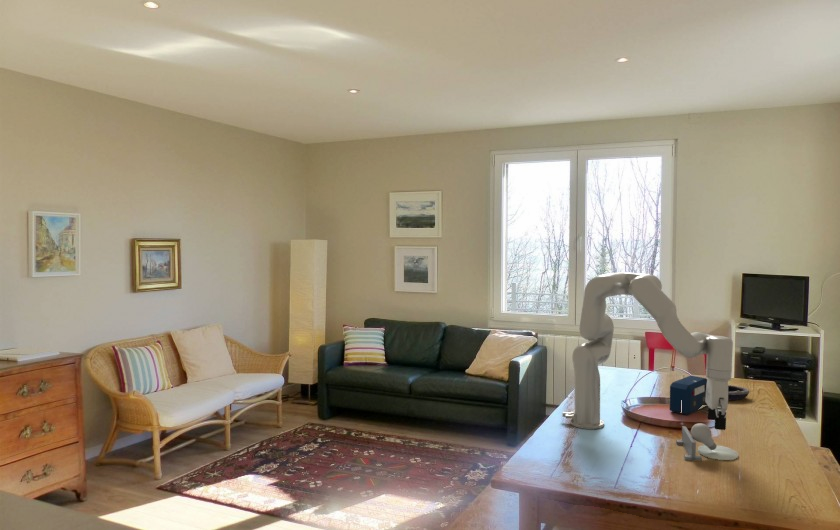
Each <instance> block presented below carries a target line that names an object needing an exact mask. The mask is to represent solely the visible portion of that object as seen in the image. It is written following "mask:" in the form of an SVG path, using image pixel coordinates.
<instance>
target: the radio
mask: <svg viewBox="0 0 840 530" xmlns="http://www.w3.org/2000/svg"><path fill="white" fill-rule="evenodd" d="M706 385H707V377H701V376H697V375H688V376H686V377H685V376H684V377H683V378H680V379H678V380H675V381H672V382H671V384H670V386H669V411H671V412H673V413H677V414H680V412H681V400H682V413H683V414H682V415H686V416H690V415H691V414H694V413H697V412H698V411H699V410H698V409H699V408H700V407H701V406H702V405H707V403H706V402H705V396H706ZM707 406H708V405H707ZM697 410H698V411H697ZM689 414H690V415H689Z"/></svg>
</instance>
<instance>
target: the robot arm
mask: <svg viewBox="0 0 840 530" xmlns="http://www.w3.org/2000/svg"><path fill="white" fill-rule="evenodd" d="M662 287H663V283H662V281H661V279H659V277H658V276H655V275H653V274H650V273H635V272H634V273H633V272H622V271H620V272H619V271H618V272H612V273H611V272H610V273H605V274H600V275H597V276H595V277H592V278H591V279H590V280H589V281H587V284H586V285H585V287H584V292H583V301H582V308H581V315H580V320H579V321H580V322H579V330H578V331H579V334H580V335H581V338H583V339H585V340H587V341H586V342H583V343H580V344H579V345H577V346H576V347H575V348H574V350H573V352H572V356H571V357H572V364H573V373H574V409H573V411H570V412H567V411H562V417H563V418H565V419H570V421H569V422H570V424H571V426H574V427H576V428H579V429H586V430H597V429H601V428H604V427H605V421H604V420H602V419H601V373H600V370H599V365H601V364H603V363H605V362H606V361H607V360H608V359H609V358H610V355H611V351H612V344H613V338H614V329H615V326H614V322H613V319H612V318H611V316H609V314H606V309H607V300H606V299H607V298H609V297H615V296H620V295H621V296H622V295H623V296H625V295H627V296H632V297H633V298H634V299H635V300H636V301H637V302H638V303H639V304H640V306H642V308H643V309H644V310H646V311H647V313H648V314H649V315H650V316H651V317H652V318H653V319H654V320H655V322H656V324H657V327H658V329H659V330H660V332H661V334H662V336H663V337H664V338H665V340H666V341H667V342H668V343H669V344H670V345H671V347H672V348H674V350H675V351H676V352H677V353H678V354H680V355H681V356H683V357H684V358H687V359H693V358H697V357H698V356H701V355H706V361H705V362H706V364H705V378H706V379H707V385H706V396H705V402H706V403H707V420H711V421H714V429H715V430H718V431H719V430H720V431H726V429H727V412H726V411H728V405H729V400H728V385H729V381H731V380H732V374H733V373H732V369H733V351H734V350H733V348H734V343H733V339H732V338H730V337H729V336H728V337H727V336H723V335H713V334H708V333H704V332H700V331H693V332H690V331H689V330H688V329H687V328H686V327H685V326H684V325H683V324H682V322H681V321H680V319H679V317H678V315H677V306H676V304H675V303H674V302H673V300H671V298H670V297H668V296H667V295H666V293H665V292H664V291H663V290H662V289H663V288H662Z"/></svg>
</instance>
